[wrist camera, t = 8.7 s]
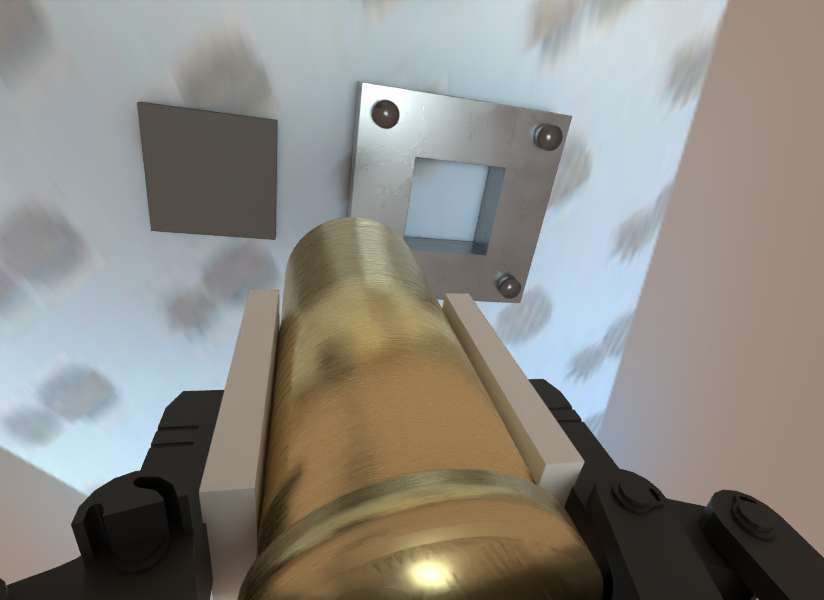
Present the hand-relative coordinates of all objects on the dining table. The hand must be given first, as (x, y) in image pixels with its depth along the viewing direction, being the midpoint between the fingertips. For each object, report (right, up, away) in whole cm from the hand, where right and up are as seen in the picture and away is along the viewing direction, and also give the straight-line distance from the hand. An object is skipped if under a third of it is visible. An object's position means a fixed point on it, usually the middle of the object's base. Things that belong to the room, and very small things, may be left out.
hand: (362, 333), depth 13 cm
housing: (+4, +9, +20) cm, 22 cm away
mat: (-12, +9, +17) cm, 22 cm away
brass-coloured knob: (-1, +2, +3) cm, 4 cm away
